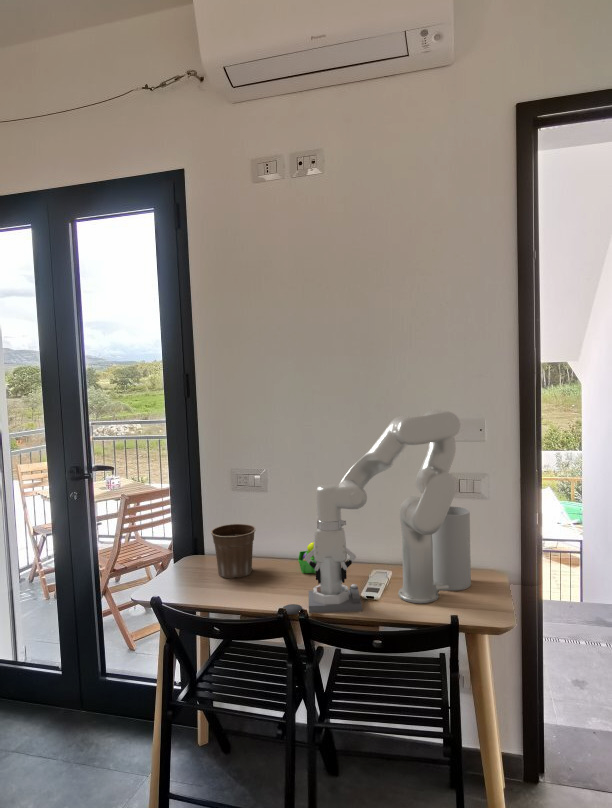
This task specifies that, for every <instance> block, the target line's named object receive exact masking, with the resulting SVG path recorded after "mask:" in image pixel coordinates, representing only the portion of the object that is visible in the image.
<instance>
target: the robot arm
mask: <svg viewBox="0 0 612 808" xmlns="http://www.w3.org/2000/svg"><path fill="white" fill-rule="evenodd" d="M460 430H461V421H460V418H459V417H458V416H457V414H455V413H454V412H451V411H448V410H441V409H440V410H439V409H431V410H428V411H427V412H425V413H424V414H423V415H420V416H412V417H411V416H406V415H399V416H396V417H394V418H393V419H392V420H391V421H390V423H389V424H388V425H387V426H386V428H385V429H384V430H383V432H382V433H381V435H380V436H379V437H378V438H377V440H376V441H375V442H374V443H373V445H372V446H371V447H370V449H369V450H368V451H367V452H365V454H364V455H362V457H361V458H359V459H358V460H357V461H356V462H355V463H354V464H353V465H352V466H351V467H350V468H349V470H348V471H347V472H346V473H345V475H344V476H343V478H342V479H341V480H340V482H339V483H338V485H336V484H333V483H332V484H331V483H329V484H328V483H327V484H321V485H318V486H317V487H316V491H315V495H316V497H315V499H316V500H315V501H316V526H317V528H314V533H313V542H314V549H313V550H312V551H310V552H309V553H308V554H307V555H306V556H305V560H306V561H307V562H308V563H309V564H310V566H311V567H312V568H314V569H315V571H316V573H315V580H316V581H317V584H318V585H320V565H321V563H322V562H323V559H324V558H331V557H332V558H333V560H334V562H340V563H341V571H342V584H344V583H345V582H346V581H345V580H347V579H348V578H347V570H348V568H349V567H350V566H351V565H352V564H353V562H354V561H355V560H356V559H357V555H356V554H355V552H353V551H351V550H350V549H349V548H348V547H347V539H346V534H345V528H344V526H347V520H343V519H342V509H343V510H359V509H361V508H363V507H364V506H365V505H366V503H367V502H368V494H367V492H366V490H365V489H364V488H365V487H366V485H367V484H368V483H369V482H370V481H371V480H372V479H373V478H374V477H375V476H377V475H379V474H380V473H383V472H386V471H387V470H389V469H390V468H392V467H393V465H394V464H395V463H396V461H397V460H398V458H399V457H400V456H401V454H402V453H403V452H404V450H405V449H406V448H407V447H408V446H418V445H426V444H428V446H427V451H426V453H425V457H424V458H423V461H422V464H421V465H420V468H419V470H418V472H417V475H416V476H415V487H416V489H417V491H419V492H420V493H421V495H420V496H409V497H408V498H405V499H404V500H403V501H402V503H401V504H400V507H399V522H400V530H401V551H402V552H401V554H402V555H401V556H402V560H401V561H402V587H401V588H399V590H398V594H397V595H398V597H399V599H401V600H403V601H405V602H409V603H412V604H413V603H414V604H429V603H433V602H435V601H437V600H438V599H439V595H440V594H439V592H449V591H450V590H449V586H448V585H443V583H435V582H434V581H433V541H432V534H434V533H436V532H437V531H438V530H439V529H440V527H441V526H442V524H443V522H444V519H445V517H446V515H447V513H448V510H449V508H450V506H452V503H453V500H454V498H455V495H456V491H457V490H456V489H457V485H456V483H457V482H456V480H455V478H454V477H453V475H452V474H451V473H450V470H451V467H452V465H453V462H454V459H455V456H456V449H457V447H456V438H455V437H456V436H457V435H458V434H459V432H460ZM313 555H314V559H315V561H316V563H315V562H313V561H312V560H311V559H310V558H311V557H312V556H313ZM348 556H349V558H348V559H347V557H348Z"/></svg>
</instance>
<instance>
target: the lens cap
mask: <svg viewBox="0 0 612 808" xmlns="http://www.w3.org/2000/svg"><path fill="white" fill-rule="evenodd" d="M282 608H285V609H286V611H287V614H286V615H298V614H300V613H299V611H300V610H301V609H302V610H303V606H302V605H300V604H295V603H290V604H286V605H284V606H283V607H282Z"/></svg>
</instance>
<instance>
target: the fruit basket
mask: <svg viewBox="0 0 612 808" xmlns="http://www.w3.org/2000/svg"><path fill="white" fill-rule="evenodd" d="M306 549H307V550H302V551H301V550H300V551H299V554H298V559H297V561H298V563H299V567H300V571H301V573H302V574H316V571H315V569H314V568H312V567H311V566H310V564H309V563H308V562H307V561H306V560H305V556H306V555H307V554H308V553H309V552H310V551H312V550H313V549H314V541H313V542H310V543H309V544H308V545H307V547H306ZM310 559H311V560H312V561H313V562H315V563H316V561H315V559H314V555H313V556H312V557H311V558H310Z"/></svg>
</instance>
